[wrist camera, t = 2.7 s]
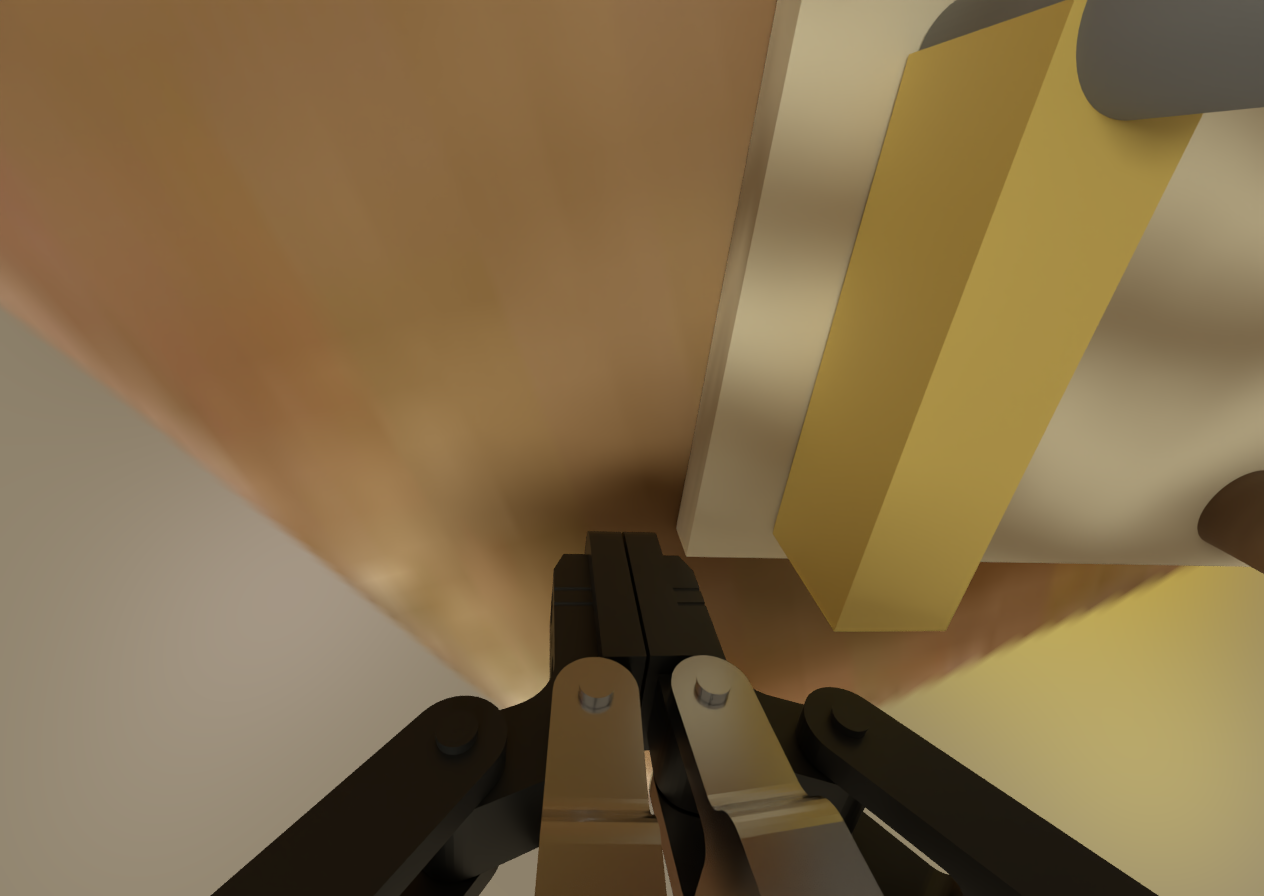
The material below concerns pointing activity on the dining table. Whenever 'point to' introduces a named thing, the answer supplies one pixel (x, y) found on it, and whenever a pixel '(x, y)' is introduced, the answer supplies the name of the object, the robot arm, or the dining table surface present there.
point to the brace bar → (989, 278)
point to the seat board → (1103, 381)
